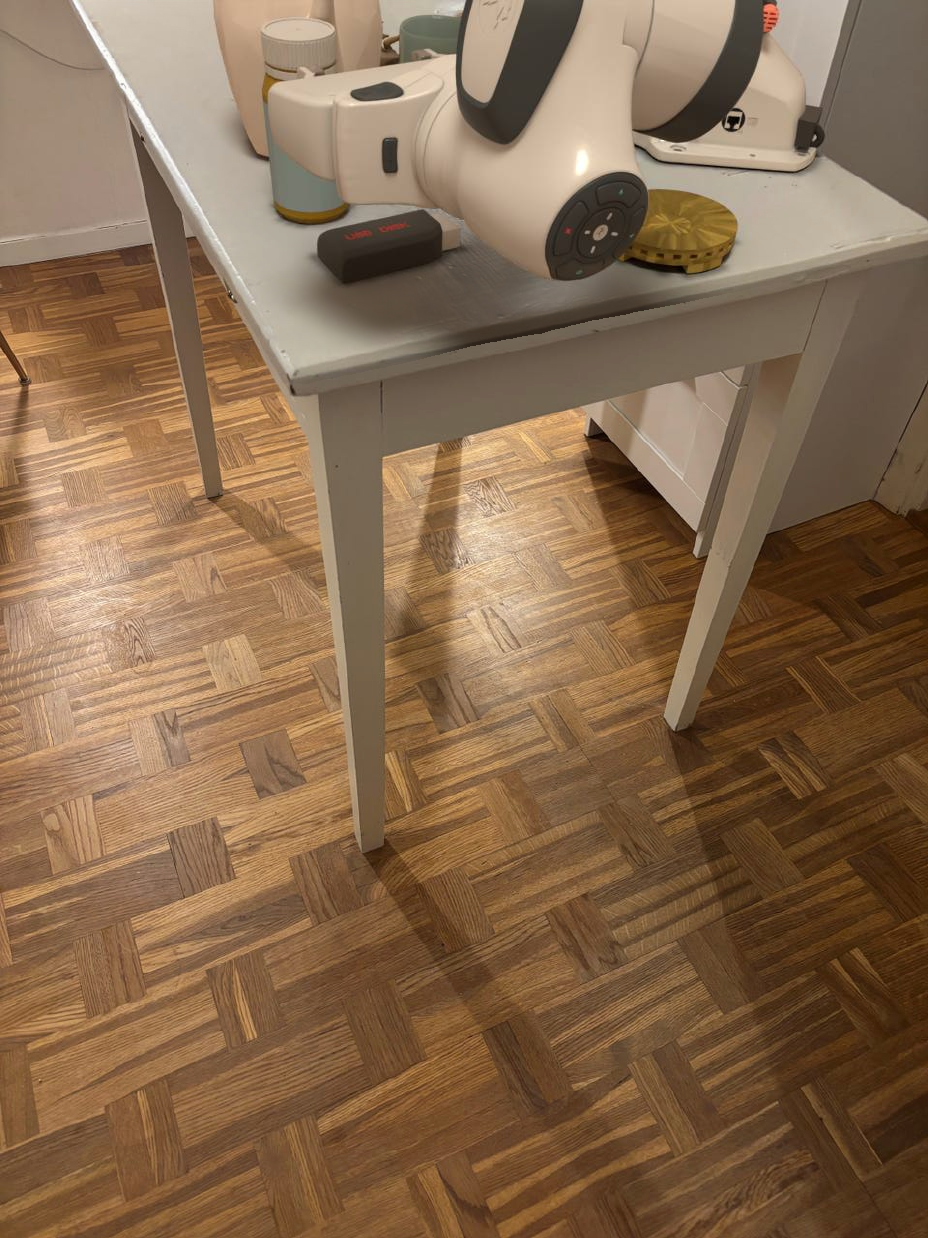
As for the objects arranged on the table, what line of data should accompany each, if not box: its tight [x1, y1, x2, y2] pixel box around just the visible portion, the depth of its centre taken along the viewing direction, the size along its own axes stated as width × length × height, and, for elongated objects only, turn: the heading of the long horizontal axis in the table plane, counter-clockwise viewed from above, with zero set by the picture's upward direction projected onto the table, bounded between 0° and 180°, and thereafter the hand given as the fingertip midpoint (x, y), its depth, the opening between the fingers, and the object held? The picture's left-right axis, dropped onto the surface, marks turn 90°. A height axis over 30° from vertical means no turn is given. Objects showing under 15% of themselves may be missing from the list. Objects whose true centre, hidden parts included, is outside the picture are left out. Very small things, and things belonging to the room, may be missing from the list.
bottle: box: [261, 17, 350, 224], centre depth 84 cm, size 7×7×15 cm
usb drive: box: [316, 208, 462, 284], centre depth 83 cm, size 5×12×3 cm, turn 120°
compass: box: [618, 188, 739, 274], centre depth 87 cm, size 12×12×2 cm
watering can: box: [212, 0, 384, 158], centre depth 91 cm, size 16×27×19 cm, turn 19°
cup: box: [398, 14, 461, 64], centre depth 100 cm, size 8×8×10 cm
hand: (363, 69), depth 71 cm, fingers open, 8 cm apart
